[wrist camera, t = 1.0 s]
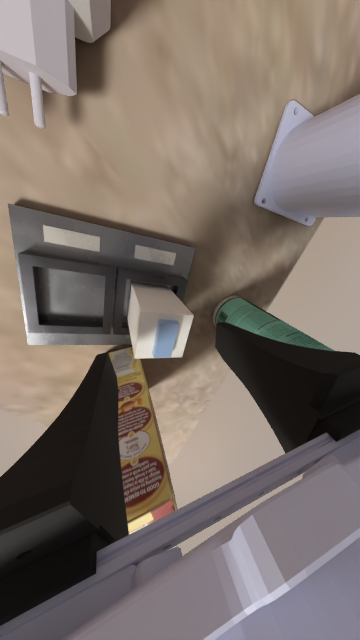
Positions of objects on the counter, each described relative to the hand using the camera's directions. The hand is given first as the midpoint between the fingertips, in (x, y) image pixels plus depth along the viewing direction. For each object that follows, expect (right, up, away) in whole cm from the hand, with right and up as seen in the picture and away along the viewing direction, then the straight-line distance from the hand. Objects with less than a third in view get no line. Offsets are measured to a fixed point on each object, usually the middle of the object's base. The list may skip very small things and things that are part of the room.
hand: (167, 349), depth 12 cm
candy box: (-6, -5, +13) cm, 15 cm away
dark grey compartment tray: (-6, +5, +7) cm, 10 cm away
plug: (-3, +4, +8) cm, 9 cm away
